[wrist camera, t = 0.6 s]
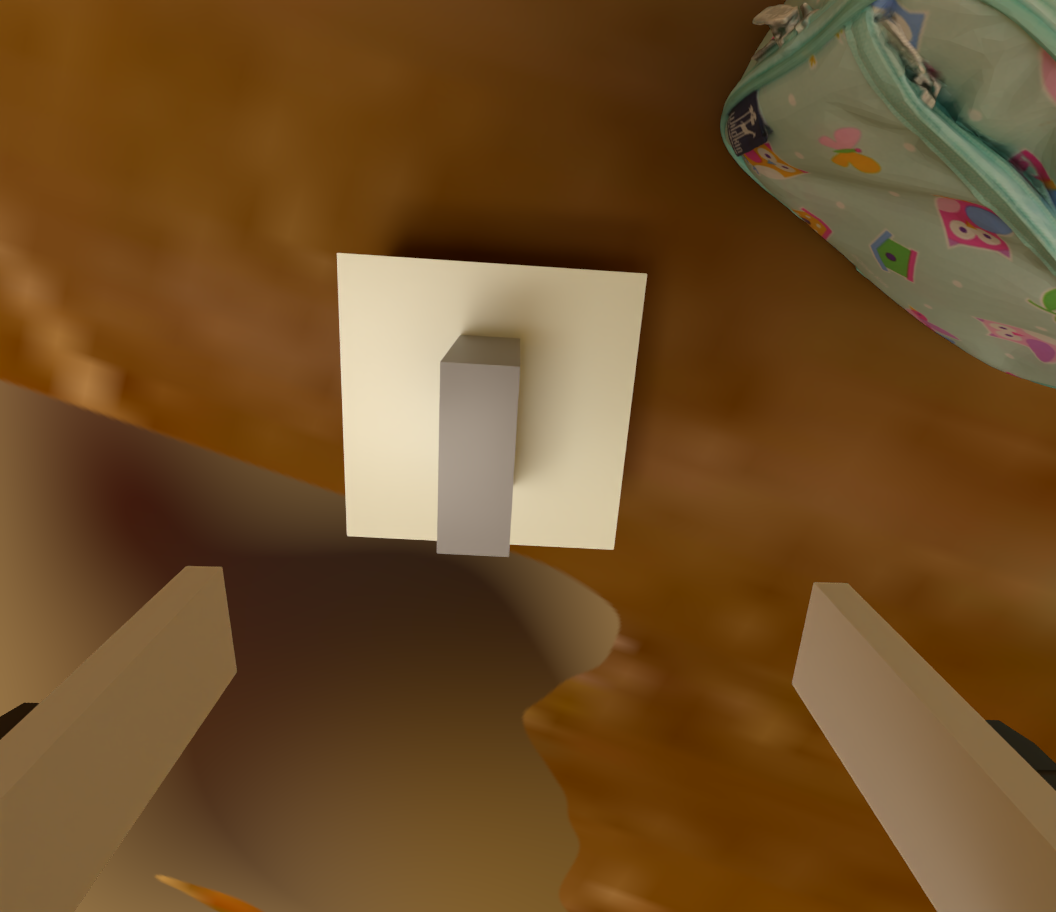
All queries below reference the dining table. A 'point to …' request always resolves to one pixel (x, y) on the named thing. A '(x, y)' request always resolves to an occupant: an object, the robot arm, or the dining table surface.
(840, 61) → the lunch box
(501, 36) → the dining table surface
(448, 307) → the lid
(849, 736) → the robot arm
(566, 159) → the dining table surface
